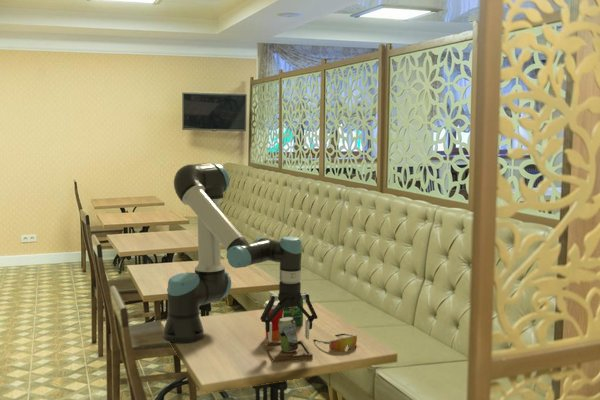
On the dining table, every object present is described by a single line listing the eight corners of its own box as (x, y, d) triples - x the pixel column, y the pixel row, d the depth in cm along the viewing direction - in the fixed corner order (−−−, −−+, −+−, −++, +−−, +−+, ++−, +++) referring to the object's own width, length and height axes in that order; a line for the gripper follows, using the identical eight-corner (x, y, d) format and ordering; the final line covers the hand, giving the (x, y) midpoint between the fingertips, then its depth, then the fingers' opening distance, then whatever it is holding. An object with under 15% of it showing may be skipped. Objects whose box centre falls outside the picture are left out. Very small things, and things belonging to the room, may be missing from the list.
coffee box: (281, 324, 264) (282, 292, 262) (284, 322, 267) (285, 290, 265) (300, 326, 261) (301, 295, 259) (303, 324, 264) (304, 293, 262)
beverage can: (296, 355, 229) (297, 322, 227) (275, 353, 230) (276, 320, 229) (299, 348, 235) (300, 316, 233) (279, 346, 236) (280, 314, 235)
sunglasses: (333, 354, 233) (332, 340, 233) (309, 347, 246) (308, 333, 246) (363, 347, 241) (363, 333, 241) (339, 340, 254) (338, 327, 254)
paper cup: (268, 333, 253) (269, 298, 251) (286, 336, 250) (287, 301, 248) (259, 339, 245) (260, 303, 243) (278, 343, 243) (279, 306, 241)
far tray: (265, 347, 238) (265, 342, 238) (302, 345, 241) (302, 340, 241) (273, 362, 224) (273, 357, 224) (312, 359, 228) (312, 354, 228)
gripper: (257, 285, 222) (256, 345, 225) (327, 282, 229) (325, 340, 232) (253, 279, 230) (252, 337, 233) (321, 276, 236) (319, 333, 239)
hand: (288, 339), depth 232 cm, fingers open, 13 cm apart
